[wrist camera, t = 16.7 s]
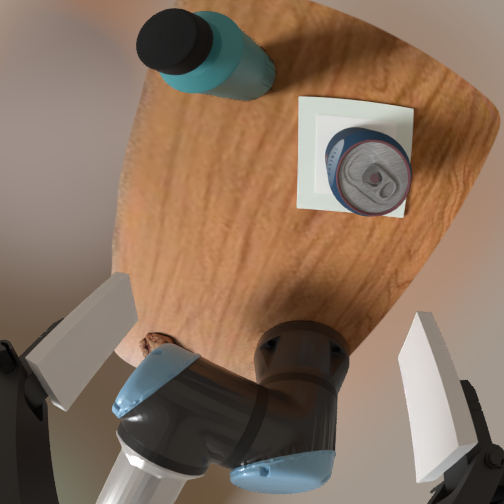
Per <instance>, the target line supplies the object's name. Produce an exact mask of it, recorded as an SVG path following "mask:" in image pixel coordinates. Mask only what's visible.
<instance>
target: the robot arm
mask: <svg viewBox="0 0 504 504" xmlns="http://www.w3.org/2000/svg"><path fill="white" fill-rule="evenodd" d="M137 321H138V316H137V311H136V307H135V302H134V298H133V293H132V288H131V283H130V278H129V274H125V273H120V272H116V273H115V274H113V275H112V276H111V277H110V278H109V279H108V280H107V281H105V282H104V283H103V284H102V285H101V286H100V287H99V288H98V289H96V290H95V291H94V292H93V293H92V294H91V295H90V296H88V298H86V299H85V300H84V301H83V302H82V303H81V304H80V305H79V306H77V308H75V309H74V310H73V311H72V312H71V313H70V314H69V315H68V316H67V317H66V318H65V319H64V318H62V319H61V320H59V321H57V322H55V323H53V324H52V325H51V326H50V327H49V328H48V329H47V330H46V332H44V333H43V334H42V335H41V337H39V338H38V339H37V340H36V341H35V342H34V343H33V344H32V345H31V346H30V347H29V348H28V349H27V350H26V351H25V352H24V353H23V354H22V355H21V356H20V357H18V355H17V354H16V352H15V350H14V348H13V346H12V344H11V343H10V342H9V341H7V340H0V504H59V502H58V497H57V493H56V487H55V481H54V476H53V468H52V462H51V452H50V442H49V429H48V408H47V403H46V400H45V399H46V398H47V396H49V398H50V399H51V401H52V402H53V404H54V405H56V406H57V407H59V408H61V409H63V410H64V411H67V410H68V409H69V408H70V406H71V405H72V404H73V402H74V401H75V399H76V398H77V397H78V395H79V394H80V393H81V392H82V390H83V389H84V388H85V386H86V385H87V384H88V382H89V381H90V380H91V379H92V377H93V376H94V374H95V373H96V372H97V371H98V370H99V368H100V367H101V366H102V364H103V363H104V362H105V361H106V359H107V358H108V357H109V356H110V354H111V353H112V352H113V351H114V349H115V348H116V347H117V346H118V344H119V343H120V342H121V341H122V339H123V338H124V337H125V336H126V334H127V333H128V332H129V331H130V330H131V328H132V327H133V326H134V325H135V323H136V322H137ZM398 361H399V366H400V370H401V375H402V380H403V385H404V390H405V396H406V401H407V407H408V413H409V419H410V426H411V432H412V441H413V449H414V458H415V468H416V480H417V483H421V482H428V481H434V480H436V479H437V478H438V477H440V476H441V475H442V474H444V481H443V482H442V483H440V484H439V485H437V486H436V487H435V488H433V490H431V492H430V493H433V492H434V491H436V492H435V493H434V495H433V496H432V498H431V499H430V500H429V502H428V503H427V504H504V450H503V449H502V448H501V447H500V446H499V445H495V444H492V441H491V438H490V434H489V431H488V427H487V424H486V421H485V418H484V414H483V411H481V409H482V408H481V405H480V403H479V402H478V401H479V399H478V397H477V394H476V391H475V389H474V387H473V386H472V385H471V384H470V382H469V381H468V380H459V378H458V375H457V373H456V370H455V367H454V365H453V362H452V359H451V357H450V354H449V352H448V349H447V347H446V344H445V342H444V340H443V337H442V335H441V333H440V330H439V328H438V326H437V323H436V321H435V319H434V317H433V315H432V313H431V312H416V315H415V317H414V320H413V322H412V325H411V327H410V330H409V333H408V335H407V337H406V340H405V342H404V345H403V347H402V349H401V351H400V353H399V356H398ZM254 365H255V372H256V380H257V383H255V382H253V381H251V380H248V379H246V378H244V377H242V376H240V375H238V374H235V373H233V372H231V371H229V370H227V369H225V368H223V367H221V366H219V365H217V364H215V363H213V362H211V361H209V360H207V359H205V358H203V357H201V355H200V354H194V353H192V352H190V351H188V350H186V349H184V348H181V347H179V346H177V345H175V344H172V343H165V344H162V345H160V346H158V347H156V348H155V349H154V350H153V351H152V352H151V353H150V354H149V355H148V356H147V357H146V358H145V359H144V360H143V361H142V362H141V363H140V365H139V366H138V367H137V368H136V370H135V371H134V372H133V373H132V375H131V376H130V378H129V379H128V380H127V382H126V383H125V385H124V386H123V388H122V389H121V391H120V392H119V394H118V396H117V398H116V401H115V403H114V404H113V407H112V411H113V413H115V415H116V417H118V418H121V419H122V420H121V423H120V425H119V427H118V429H117V431H116V434H117V437H118V439H119V441H120V444H121V446H122V450H121V452H120V454H119V456H118V458H117V460H116V462H115V464H114V466H113V468H112V470H111V472H110V474H109V476H108V479H107V481H106V483H105V485H104V487H103V489H102V491H101V493H100V495H99V497H98V500H97V502H96V504H174V502H175V500H176V498H177V496H178V495H179V493H180V491H181V489H182V487H183V486H184V484H185V482H186V480H189V479H194V478H199V477H202V476H203V475H204V474H205V472H206V471H207V469H208V467H209V465H210V464H211V463H214V464H218V465H221V466H223V467H226V468H228V469H231V470H232V471H231V472H230V480H231V482H232V483H233V484H234V485H235V486H239V487H240V488H242V489H245V490H248V491H253V492H259V493H269V494H292V493H300V492H306V491H310V490H313V489H316V488H319V487H321V486H322V485H324V484H325V483H326V482H327V481H328V480H329V478H330V477H331V473H332V468H333V463H334V458H335V456H336V452H335V441H336V424H337V395H338V392H339V390H340V388H341V386H342V383H343V381H344V378H345V376H346V374H347V371H348V368H349V349H348V346H347V343H346V342H345V340H344V339H343V337H342V336H341V335H340V334H339V333H337V332H336V331H335V330H333V329H331V328H330V327H327V326H325V325H323V324H319V323H315V322H310V321H291V322H286V323H282V324H279V325H277V326H274V327H273V328H271V329H269V330H268V331H267V332H265V333H264V334H263V335H262V337H261V338H260V340H259V342H258V344H257V348H256V351H255V355H254Z"/></svg>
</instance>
